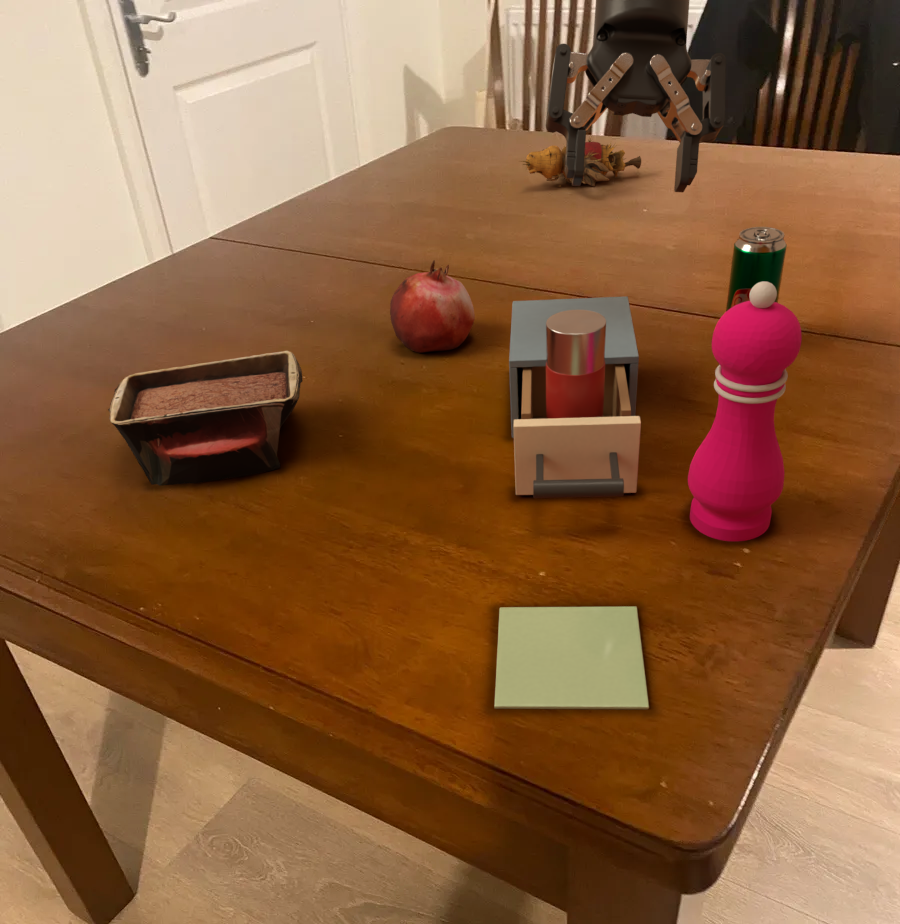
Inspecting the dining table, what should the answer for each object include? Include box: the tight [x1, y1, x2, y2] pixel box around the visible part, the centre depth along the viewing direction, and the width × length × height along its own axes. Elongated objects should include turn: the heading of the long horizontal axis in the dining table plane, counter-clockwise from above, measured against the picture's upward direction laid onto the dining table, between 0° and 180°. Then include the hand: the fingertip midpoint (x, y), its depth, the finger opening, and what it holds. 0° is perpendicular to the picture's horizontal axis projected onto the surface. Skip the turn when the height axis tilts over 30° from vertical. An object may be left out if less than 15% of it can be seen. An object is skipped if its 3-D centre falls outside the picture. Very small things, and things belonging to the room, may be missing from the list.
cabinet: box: [508, 295, 640, 439], centre depth 89 cm, size 13×11×8 cm
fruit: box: [389, 259, 476, 354], centre depth 101 cm, size 9×10×10 cm
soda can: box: [725, 226, 788, 312], centre depth 95 cm, size 5×5×12 cm
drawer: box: [513, 364, 642, 499], centre depth 79 cm, size 18×10×7 cm, turn 176°
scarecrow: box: [519, 135, 642, 188], centre depth 144 cm, size 17×16×8 cm
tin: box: [546, 310, 606, 419], centre depth 78 cm, size 5×5×12 cm
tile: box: [493, 605, 650, 710], centre depth 64 cm, size 10×10×1 cm
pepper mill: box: [687, 281, 803, 542], centre depth 68 cm, size 7×7×20 cm
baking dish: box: [107, 350, 303, 487], centre depth 87 cm, size 14×18×10 cm
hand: (629, 185), depth 75 cm, fingers open, 8 cm apart
